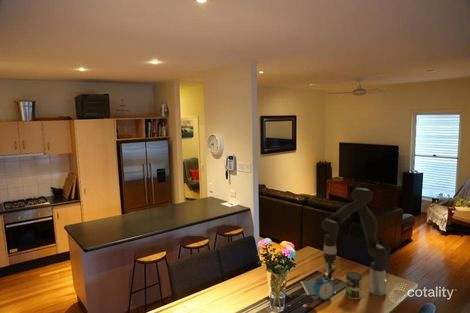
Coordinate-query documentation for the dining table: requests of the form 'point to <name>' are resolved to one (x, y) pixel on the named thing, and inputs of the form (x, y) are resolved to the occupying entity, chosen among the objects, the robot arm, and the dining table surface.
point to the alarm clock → (324, 288)
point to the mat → (309, 287)
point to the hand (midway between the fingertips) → (329, 277)
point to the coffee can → (354, 285)
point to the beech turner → (327, 273)
